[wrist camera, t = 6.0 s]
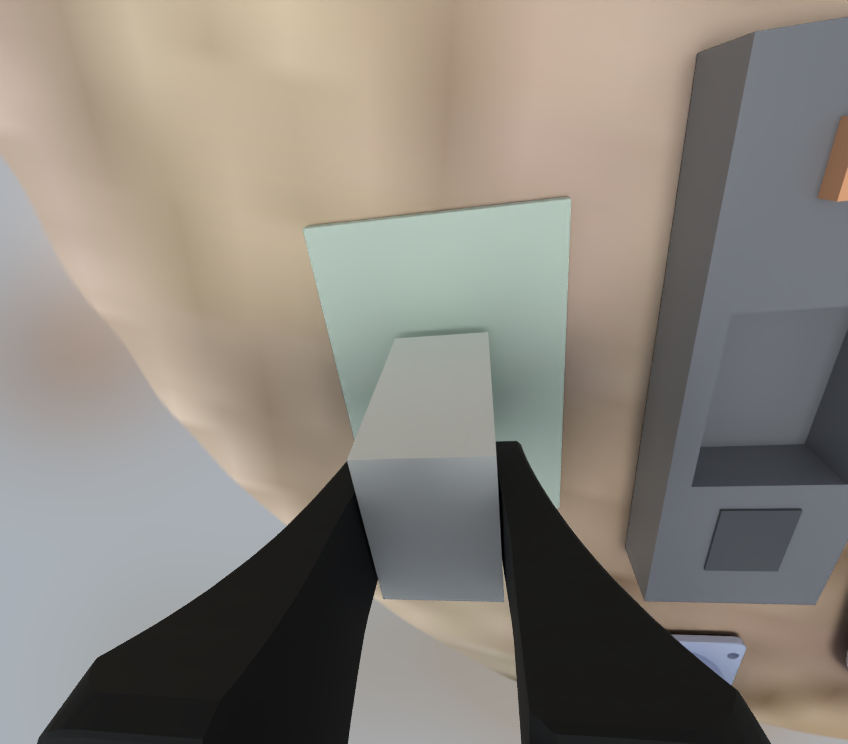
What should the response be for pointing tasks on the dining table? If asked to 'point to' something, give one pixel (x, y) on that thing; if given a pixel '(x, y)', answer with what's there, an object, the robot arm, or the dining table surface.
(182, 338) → the dining table surface
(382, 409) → the white rectangular block
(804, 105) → the grey slotted plate
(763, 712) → the dining table surface
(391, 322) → the rubber mat
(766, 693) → the dining table surface
